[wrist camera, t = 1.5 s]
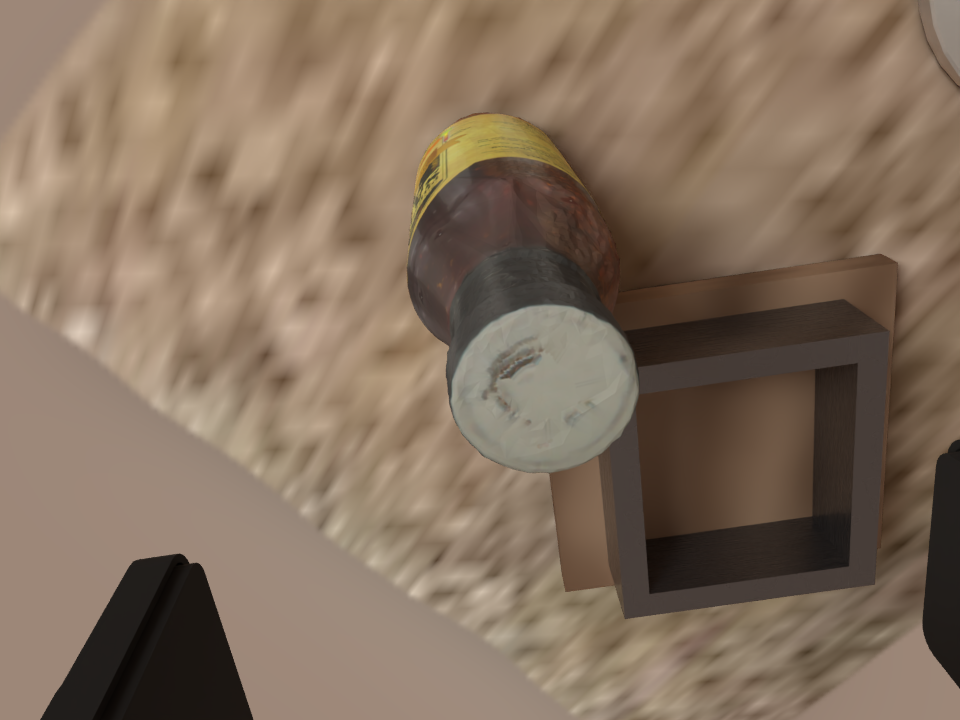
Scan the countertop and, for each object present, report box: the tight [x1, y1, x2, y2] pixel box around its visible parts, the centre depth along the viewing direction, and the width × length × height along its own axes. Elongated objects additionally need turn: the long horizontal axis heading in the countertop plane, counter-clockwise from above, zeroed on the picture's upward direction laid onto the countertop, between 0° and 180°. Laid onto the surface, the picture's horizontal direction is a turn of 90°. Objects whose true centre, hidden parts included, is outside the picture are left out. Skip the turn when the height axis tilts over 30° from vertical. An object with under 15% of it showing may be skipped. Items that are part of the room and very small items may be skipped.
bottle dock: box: [549, 254, 898, 619], centre depth 37 cm, size 16×15×6 cm
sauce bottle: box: [407, 113, 640, 473], centre depth 26 cm, size 7×6×20 cm
